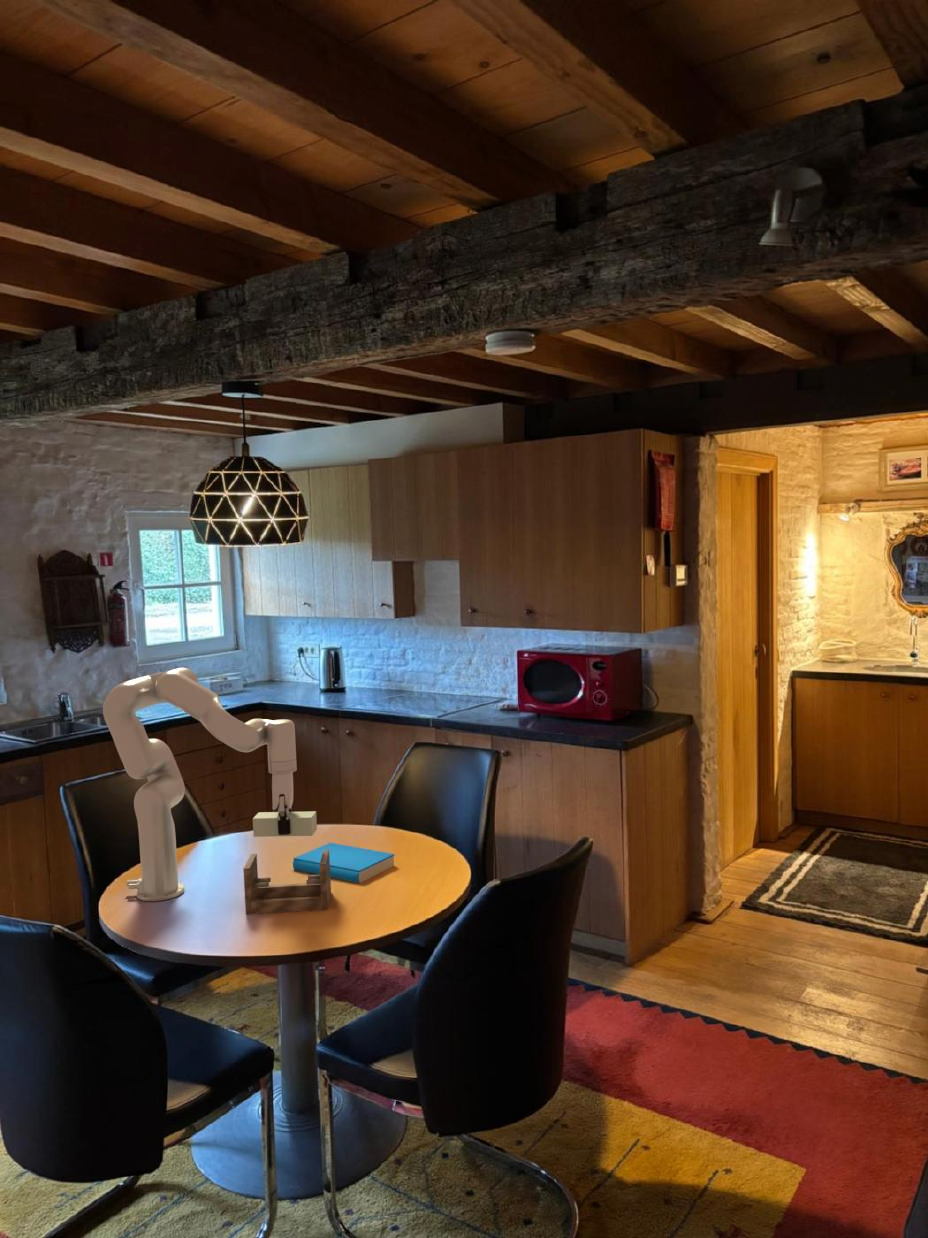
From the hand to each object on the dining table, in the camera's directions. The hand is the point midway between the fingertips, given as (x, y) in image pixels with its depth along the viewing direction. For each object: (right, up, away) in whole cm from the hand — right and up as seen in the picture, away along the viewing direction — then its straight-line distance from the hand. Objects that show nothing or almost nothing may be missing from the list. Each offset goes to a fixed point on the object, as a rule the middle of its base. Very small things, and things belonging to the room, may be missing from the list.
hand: (285, 830), depth 253 cm
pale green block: (0, -1, 0) cm, 1 cm away
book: (+13, -17, +21) cm, 30 cm away
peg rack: (+2, -18, -6) cm, 19 cm away
